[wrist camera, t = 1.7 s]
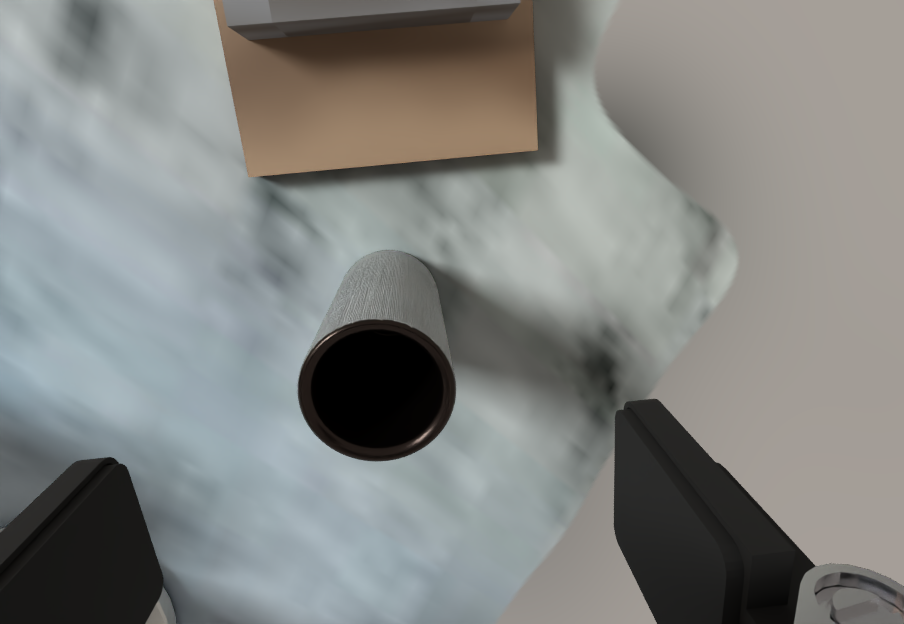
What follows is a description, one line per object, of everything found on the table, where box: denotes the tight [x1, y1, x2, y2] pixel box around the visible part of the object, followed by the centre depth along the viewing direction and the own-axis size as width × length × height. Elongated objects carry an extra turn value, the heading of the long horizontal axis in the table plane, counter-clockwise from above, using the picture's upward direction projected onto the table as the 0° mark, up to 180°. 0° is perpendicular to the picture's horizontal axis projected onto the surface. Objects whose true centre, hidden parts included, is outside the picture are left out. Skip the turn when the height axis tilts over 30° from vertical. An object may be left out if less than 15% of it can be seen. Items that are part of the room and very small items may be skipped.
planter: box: [297, 250, 456, 461], centre depth 20 cm, size 4×4×10 cm
